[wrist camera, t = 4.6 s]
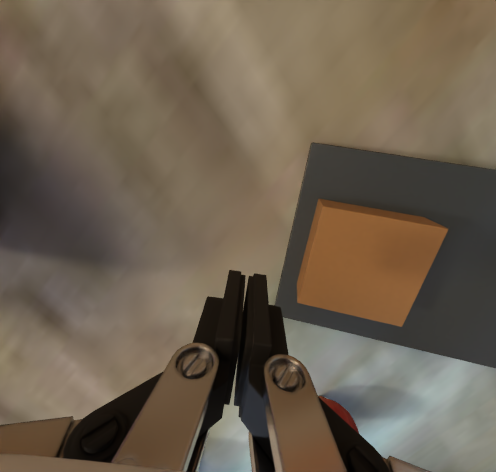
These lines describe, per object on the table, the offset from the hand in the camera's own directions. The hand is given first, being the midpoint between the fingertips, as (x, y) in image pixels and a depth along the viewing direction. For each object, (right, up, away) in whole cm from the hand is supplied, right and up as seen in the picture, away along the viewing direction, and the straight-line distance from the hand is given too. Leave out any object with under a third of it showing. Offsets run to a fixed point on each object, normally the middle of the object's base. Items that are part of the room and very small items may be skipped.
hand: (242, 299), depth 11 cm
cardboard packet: (+9, +2, +9) cm, 13 cm away
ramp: (+15, +1, +11) cm, 18 cm away
